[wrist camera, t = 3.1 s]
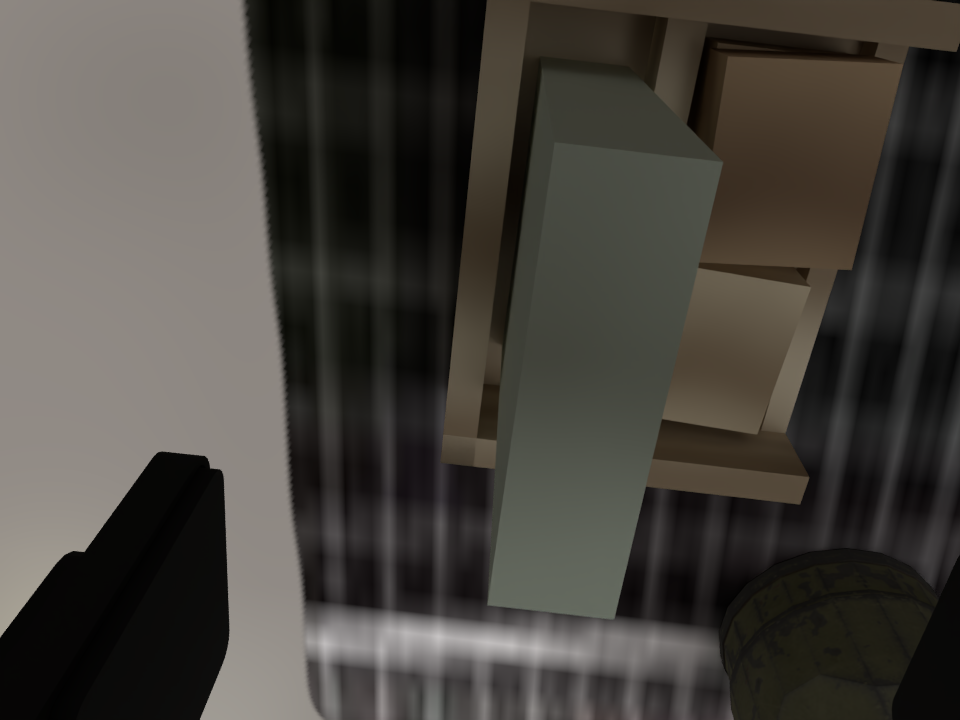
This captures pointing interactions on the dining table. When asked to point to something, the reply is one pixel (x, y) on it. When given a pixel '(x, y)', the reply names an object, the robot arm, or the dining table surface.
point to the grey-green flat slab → (591, 331)
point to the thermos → (824, 637)
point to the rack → (672, 76)
